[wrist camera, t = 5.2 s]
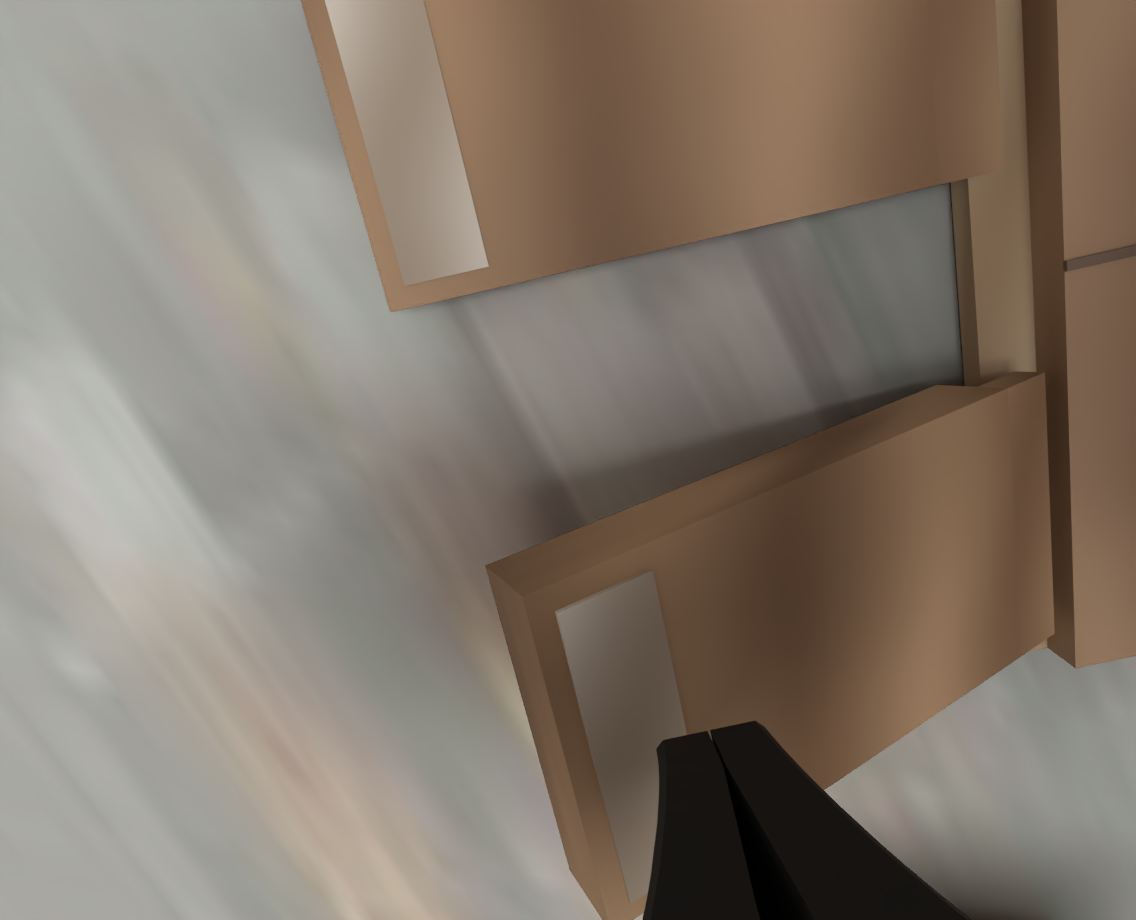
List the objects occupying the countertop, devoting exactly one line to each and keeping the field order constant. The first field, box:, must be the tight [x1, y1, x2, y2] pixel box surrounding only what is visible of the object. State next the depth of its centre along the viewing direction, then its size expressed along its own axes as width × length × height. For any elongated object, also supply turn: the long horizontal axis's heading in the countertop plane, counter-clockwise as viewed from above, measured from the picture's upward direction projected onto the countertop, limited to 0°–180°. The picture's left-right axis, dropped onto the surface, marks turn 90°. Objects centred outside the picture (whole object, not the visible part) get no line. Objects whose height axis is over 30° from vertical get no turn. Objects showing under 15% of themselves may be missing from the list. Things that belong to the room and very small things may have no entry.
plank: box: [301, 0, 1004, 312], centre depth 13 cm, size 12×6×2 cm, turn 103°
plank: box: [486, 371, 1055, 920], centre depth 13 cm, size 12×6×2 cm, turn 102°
